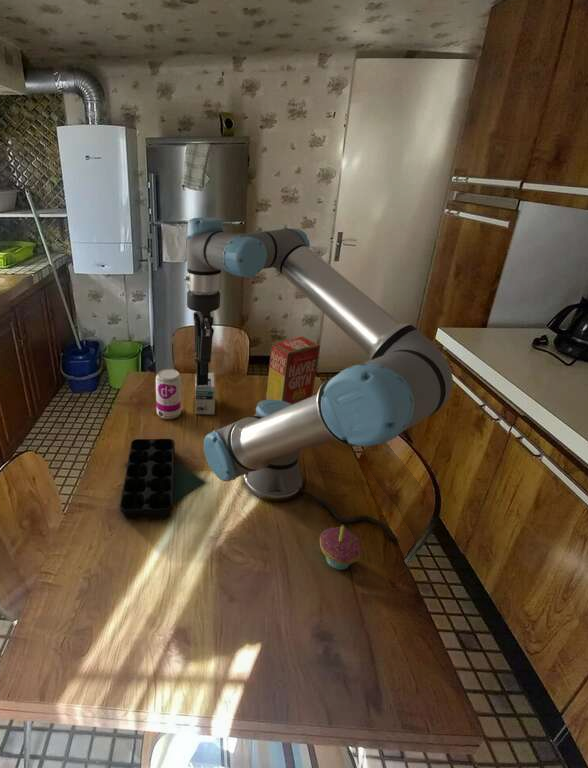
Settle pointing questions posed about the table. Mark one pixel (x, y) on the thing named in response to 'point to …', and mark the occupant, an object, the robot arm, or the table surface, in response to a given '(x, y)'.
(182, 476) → the mat
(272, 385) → the food packaging
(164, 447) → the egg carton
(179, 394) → the supplement can
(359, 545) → the cupcake
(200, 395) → the light bulb box
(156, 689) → the table surface
